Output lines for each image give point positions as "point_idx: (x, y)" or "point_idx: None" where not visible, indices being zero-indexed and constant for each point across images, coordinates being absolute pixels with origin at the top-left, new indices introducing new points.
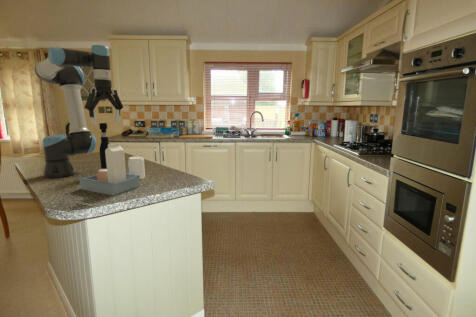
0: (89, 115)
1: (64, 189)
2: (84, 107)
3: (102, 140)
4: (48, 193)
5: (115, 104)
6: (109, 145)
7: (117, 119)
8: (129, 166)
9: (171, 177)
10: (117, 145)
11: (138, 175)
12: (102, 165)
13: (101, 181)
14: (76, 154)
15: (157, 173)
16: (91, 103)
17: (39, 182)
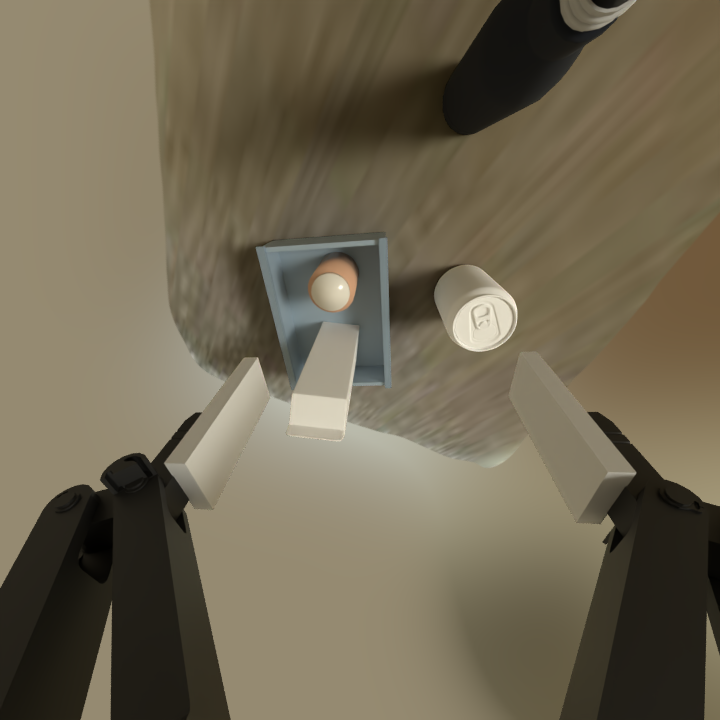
0: (181, 425)
1: (240, 171)
2: (48, 504)
3: (535, 21)
4: (187, 170)
5: (588, 624)
6: (293, 430)
7: (523, 403)
8: (443, 305)
9: (513, 372)
10: (330, 431)
11: (386, 387)
12: (453, 89)
13: (285, 351)
14: None
15: (557, 296)
16: (101, 615)
17: None
